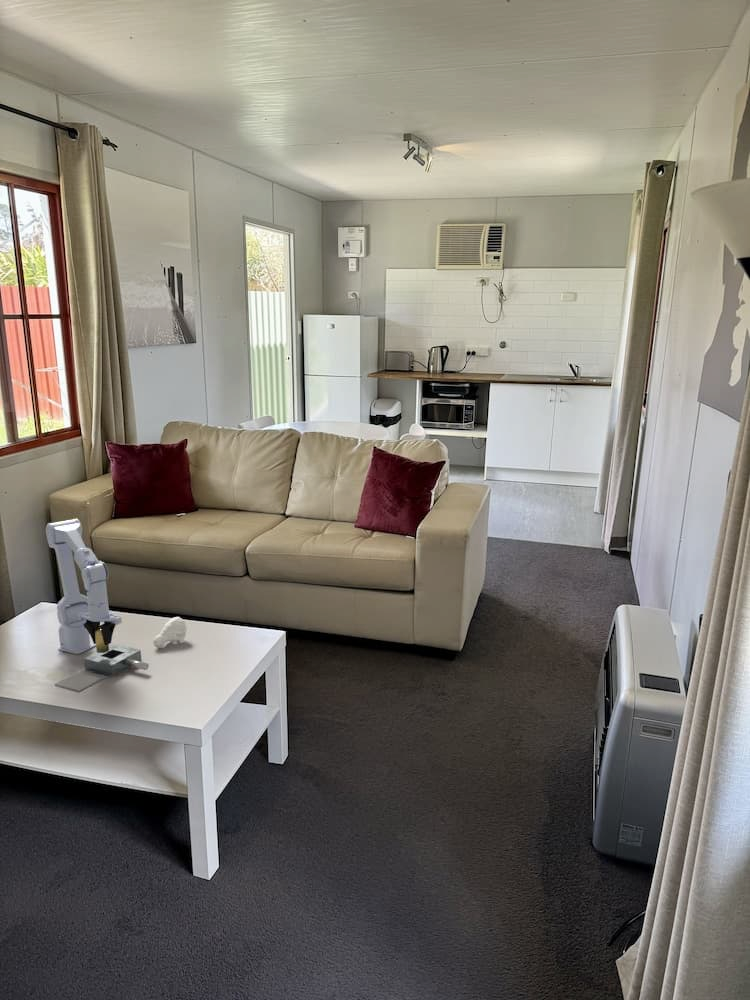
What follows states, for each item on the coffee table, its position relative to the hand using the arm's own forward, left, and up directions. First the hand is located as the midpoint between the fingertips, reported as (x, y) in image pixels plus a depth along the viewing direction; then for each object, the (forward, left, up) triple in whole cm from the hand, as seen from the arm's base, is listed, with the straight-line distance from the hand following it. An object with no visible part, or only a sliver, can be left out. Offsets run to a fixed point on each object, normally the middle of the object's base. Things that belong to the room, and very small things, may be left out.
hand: (102, 643), depth 216 cm
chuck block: (+4, +3, -9) cm, 10 cm away
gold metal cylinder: (0, 0, -2) cm, 2 cm away
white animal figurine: (+5, +23, -9) cm, 25 cm away
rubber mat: (-1, -9, -9) cm, 13 cm away
